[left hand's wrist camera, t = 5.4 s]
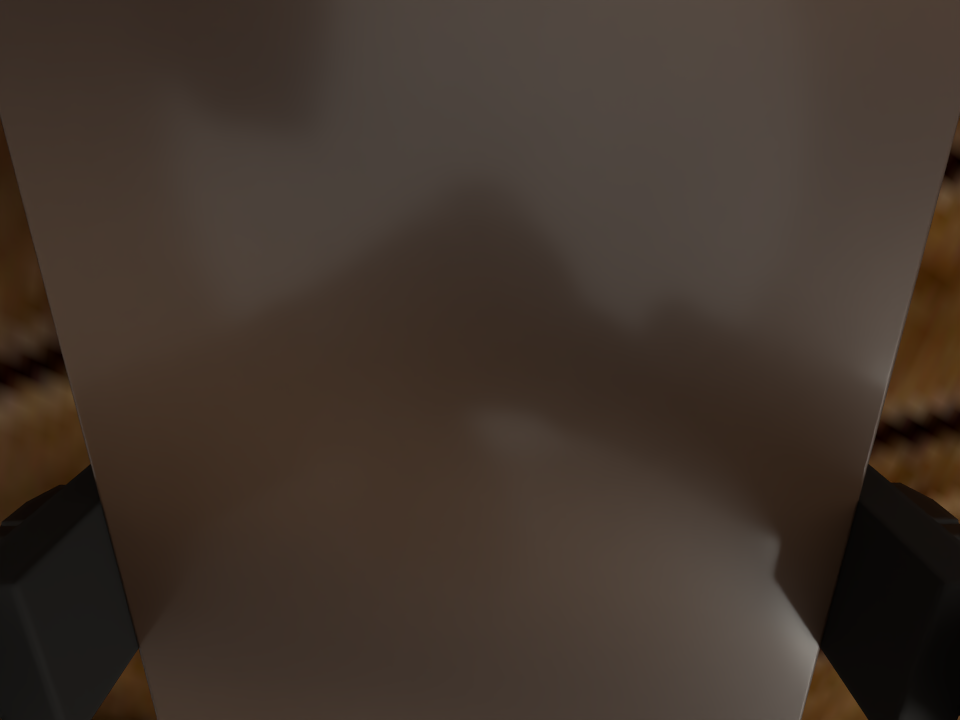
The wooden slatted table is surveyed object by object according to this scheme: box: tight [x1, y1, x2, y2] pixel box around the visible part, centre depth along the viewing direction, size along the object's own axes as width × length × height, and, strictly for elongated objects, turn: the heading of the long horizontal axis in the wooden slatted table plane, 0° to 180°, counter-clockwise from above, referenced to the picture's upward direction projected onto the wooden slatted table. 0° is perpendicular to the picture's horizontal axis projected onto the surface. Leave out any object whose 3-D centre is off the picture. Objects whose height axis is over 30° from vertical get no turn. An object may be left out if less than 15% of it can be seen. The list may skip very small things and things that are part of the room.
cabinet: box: [0, 0, 960, 720], centre depth 11 cm, size 21×11×11 cm, turn 0°
